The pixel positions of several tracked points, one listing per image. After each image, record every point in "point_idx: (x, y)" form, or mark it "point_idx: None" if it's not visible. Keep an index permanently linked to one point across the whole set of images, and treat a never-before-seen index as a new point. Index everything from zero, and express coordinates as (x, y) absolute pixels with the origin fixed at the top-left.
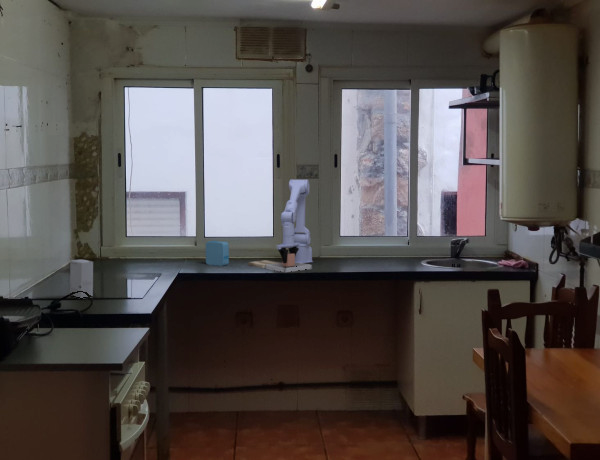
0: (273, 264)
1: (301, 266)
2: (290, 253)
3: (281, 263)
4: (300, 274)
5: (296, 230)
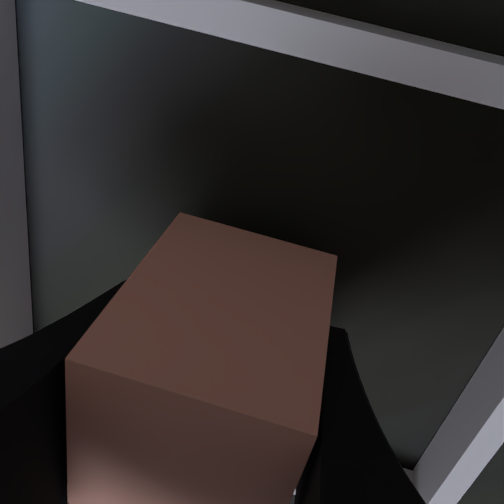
0: (125, 12)
1: None
2: (245, 493)
3: (351, 68)
4: (63, 497)
5: None
